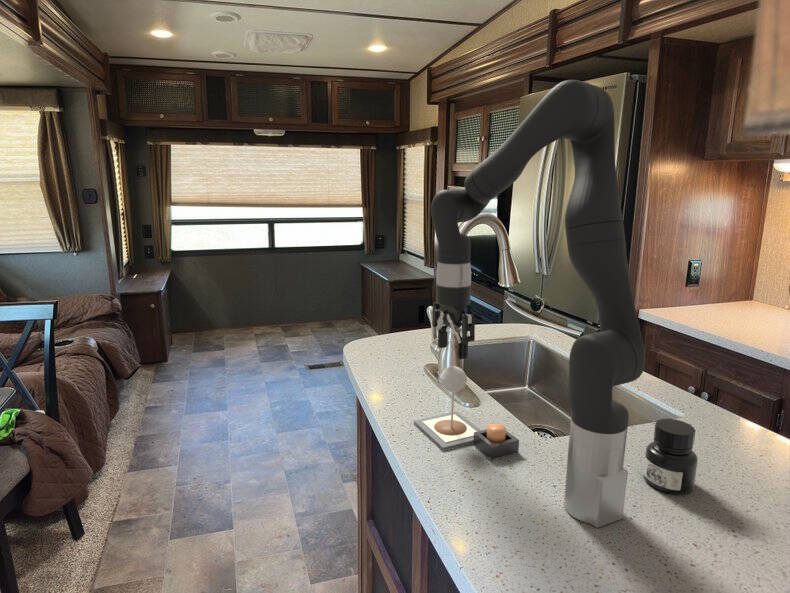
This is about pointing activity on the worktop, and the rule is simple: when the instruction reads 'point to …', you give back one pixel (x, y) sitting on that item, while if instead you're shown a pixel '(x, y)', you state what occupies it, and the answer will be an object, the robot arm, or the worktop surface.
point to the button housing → (496, 445)
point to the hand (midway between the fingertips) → (452, 352)
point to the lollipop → (453, 382)
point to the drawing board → (448, 430)
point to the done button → (496, 433)
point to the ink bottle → (671, 457)
